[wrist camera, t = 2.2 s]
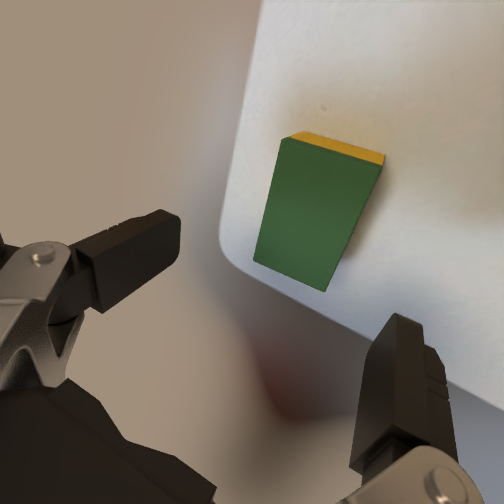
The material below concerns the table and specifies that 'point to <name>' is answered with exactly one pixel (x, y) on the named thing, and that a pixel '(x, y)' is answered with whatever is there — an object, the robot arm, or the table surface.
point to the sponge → (314, 206)
